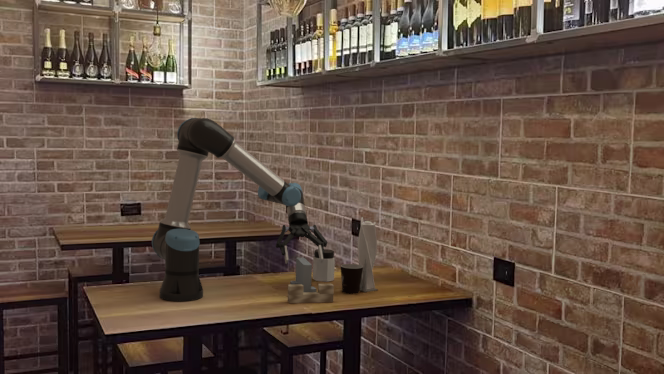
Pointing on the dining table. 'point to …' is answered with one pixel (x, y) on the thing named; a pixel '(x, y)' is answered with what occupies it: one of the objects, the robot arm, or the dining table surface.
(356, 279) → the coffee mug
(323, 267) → the jar
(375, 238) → the skyscraper
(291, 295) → the brown u-shaped block
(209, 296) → the dining table surface
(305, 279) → the grey angular block
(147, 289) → the dining table surface
